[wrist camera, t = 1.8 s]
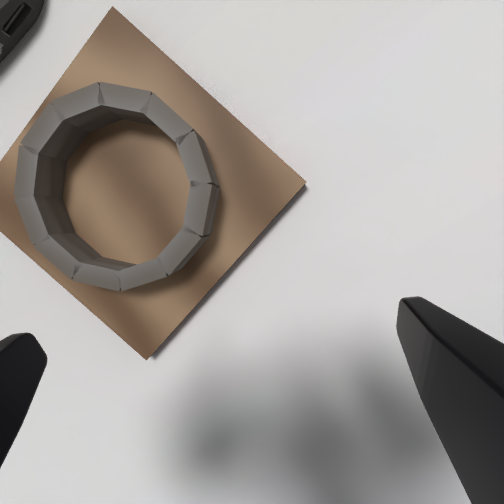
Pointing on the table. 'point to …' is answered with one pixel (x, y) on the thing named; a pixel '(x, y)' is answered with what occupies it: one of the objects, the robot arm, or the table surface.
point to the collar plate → (137, 186)
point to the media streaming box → (16, 21)
